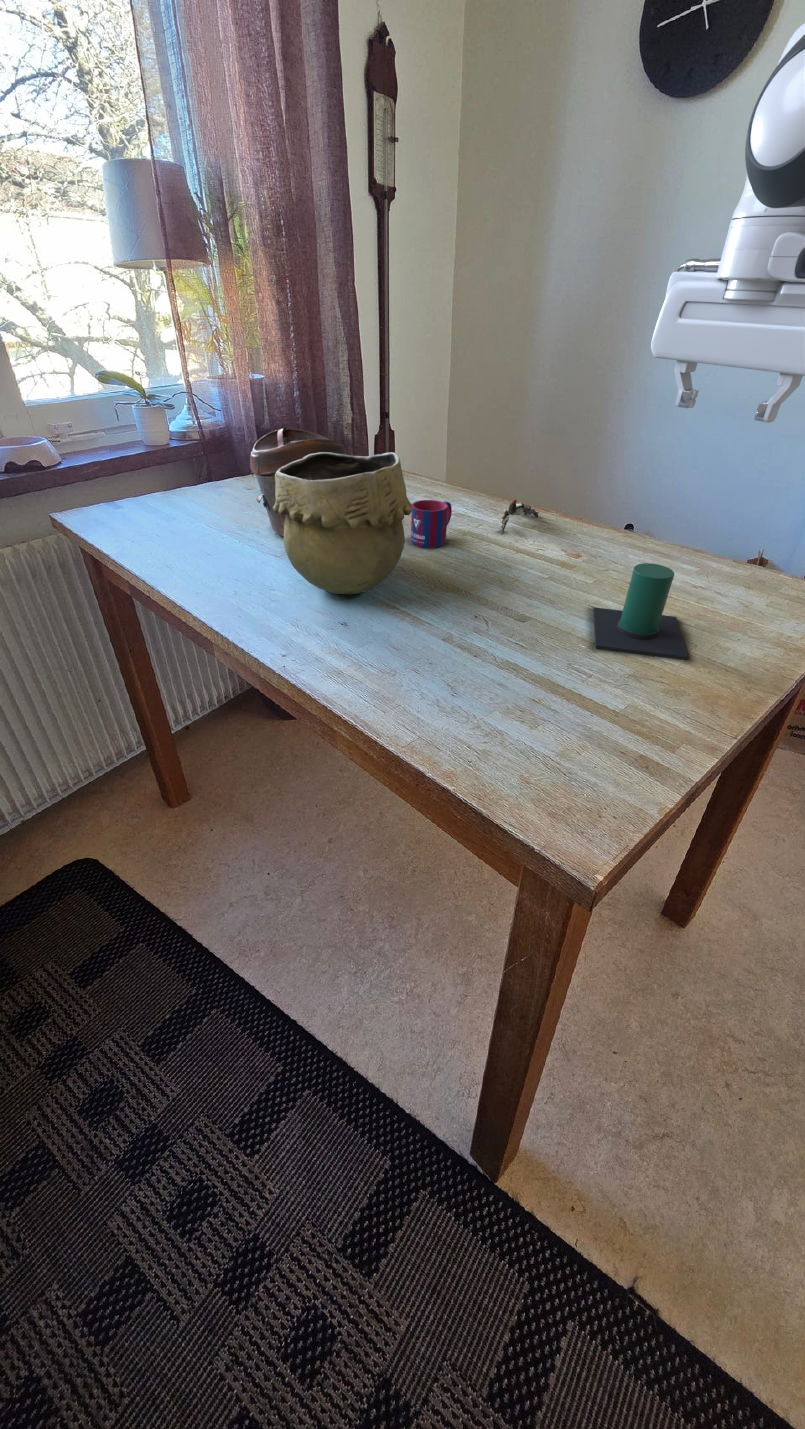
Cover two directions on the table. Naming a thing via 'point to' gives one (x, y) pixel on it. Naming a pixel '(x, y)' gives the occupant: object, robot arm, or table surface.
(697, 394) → the robot arm
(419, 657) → the table surface
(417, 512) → the mug
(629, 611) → the thermos cap
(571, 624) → the table surface
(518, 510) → the figurine
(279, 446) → the brown planter
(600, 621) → the mat
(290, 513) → the clay pot
